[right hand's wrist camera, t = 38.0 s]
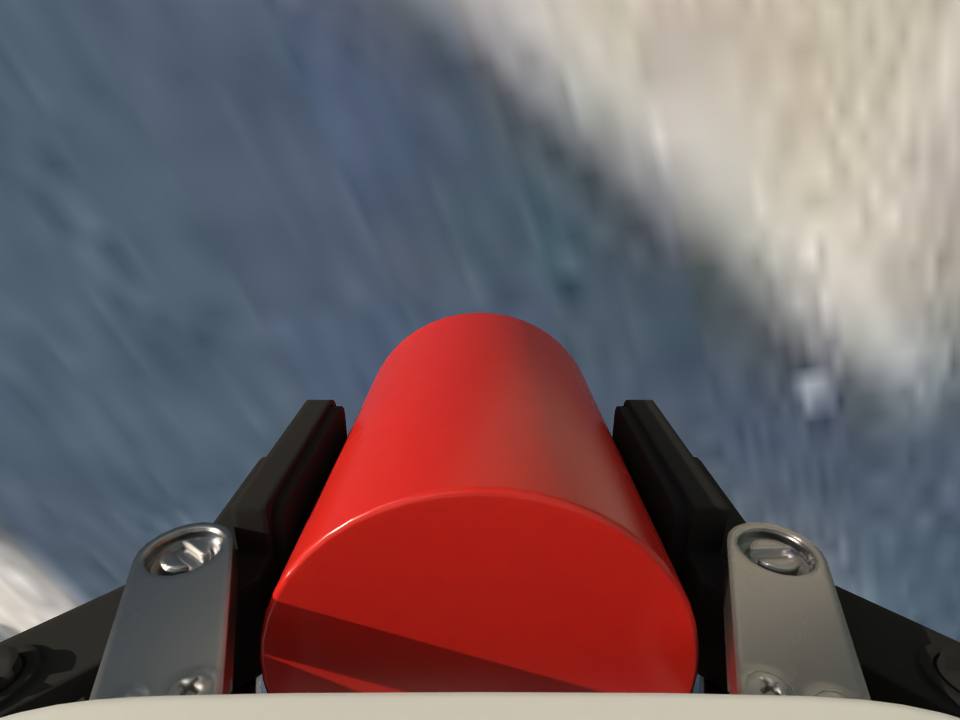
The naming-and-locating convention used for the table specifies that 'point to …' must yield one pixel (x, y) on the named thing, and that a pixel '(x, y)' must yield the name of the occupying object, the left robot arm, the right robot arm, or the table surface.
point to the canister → (479, 537)
